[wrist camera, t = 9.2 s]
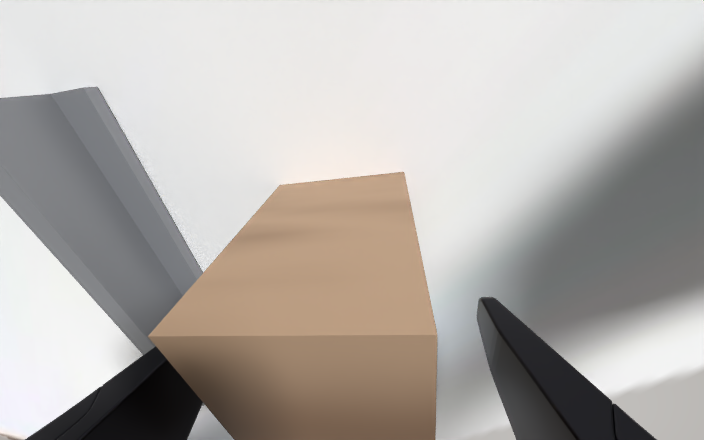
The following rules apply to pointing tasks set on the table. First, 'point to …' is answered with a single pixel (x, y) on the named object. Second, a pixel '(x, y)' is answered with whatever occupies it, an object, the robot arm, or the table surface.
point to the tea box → (314, 319)
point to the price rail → (94, 206)
